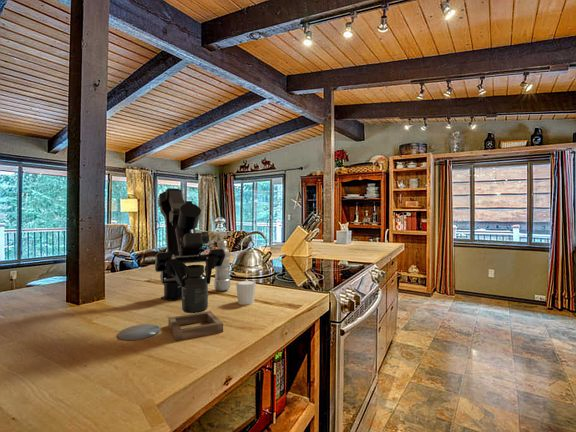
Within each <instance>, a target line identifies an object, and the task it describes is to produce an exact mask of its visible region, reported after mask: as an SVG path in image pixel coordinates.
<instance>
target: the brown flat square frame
mask: <svg viewBox="0 0 576 432" xmlns="http://www.w3.org/2000/svg"><path fill="white" fill-rule="evenodd" d="M167 319H168V328H169V329H170V331H171V333H172V335H173V337H174V339H175V341H176V342H177V341H182V340H183V341H184V340H187V339H194V338H198V337H204V336H208V335H213V334H218V333H223V332H224V323H223V322H222V321H221V320H220V319H219V318H218V317H217V316H216V315H215V314H214V313H213V311H211V310H209V311H203V312H200V313H188V314H185V315H184V314H183V315H177V316H176V315H175V316H170V317H168V318H167ZM206 321H207V322H208V323H206V324H201V325H196V326H191V327H185V328H182V327H181V326H184V325H185V326H186V325H190V324H196V323H202V322H206Z"/></svg>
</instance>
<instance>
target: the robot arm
mask: <svg viewBox="0 0 576 432" xmlns="http://www.w3.org/2000/svg"><path fill="white" fill-rule="evenodd" d="M157 205H158V207H159V210H160V214H161V215H162V216H163V217H164V221H165V222H164V223H165V238H166V241H165V242H166V251H158V252H157V253H156V254H155V261H154V268H155V269H154V270H155V272H157V273H158V272H159V273H160V282H161V284H163V291H164V292H163V296H161V297H160V300H161V299H162V300H167V301H176V300H179V299H180V300H181V299H182V287H183V277H184V276H186V273H185V271H186V266H187V264H193V263H195V264H196V263H205V265H204V273H205V274H204V275H205V276H206V277H207V278H208V285H210V284H211V279H212V270H214V269H215V268H216V267H218V266H221V265H222V263H223V260H224V258H225V252H224V250H223V249H217V248H210V249H209V252H208V253H207V254H201V252H203V246H204V245H205V244H206V245H207V244H208V243H209V242H210V234H209V231H201V232H196V229H197V228H198V225H199V222H200V218H201V217H200V216H201V213H202V209H201V208H200V206H198V204H195V203H193V201H192V200H190V201H189V200H184V196H183V192H182V190H181V189H180V188H170V187H169V188H166V189H165V191H163V192H161V193H159V196H158V198H157Z"/></svg>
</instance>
